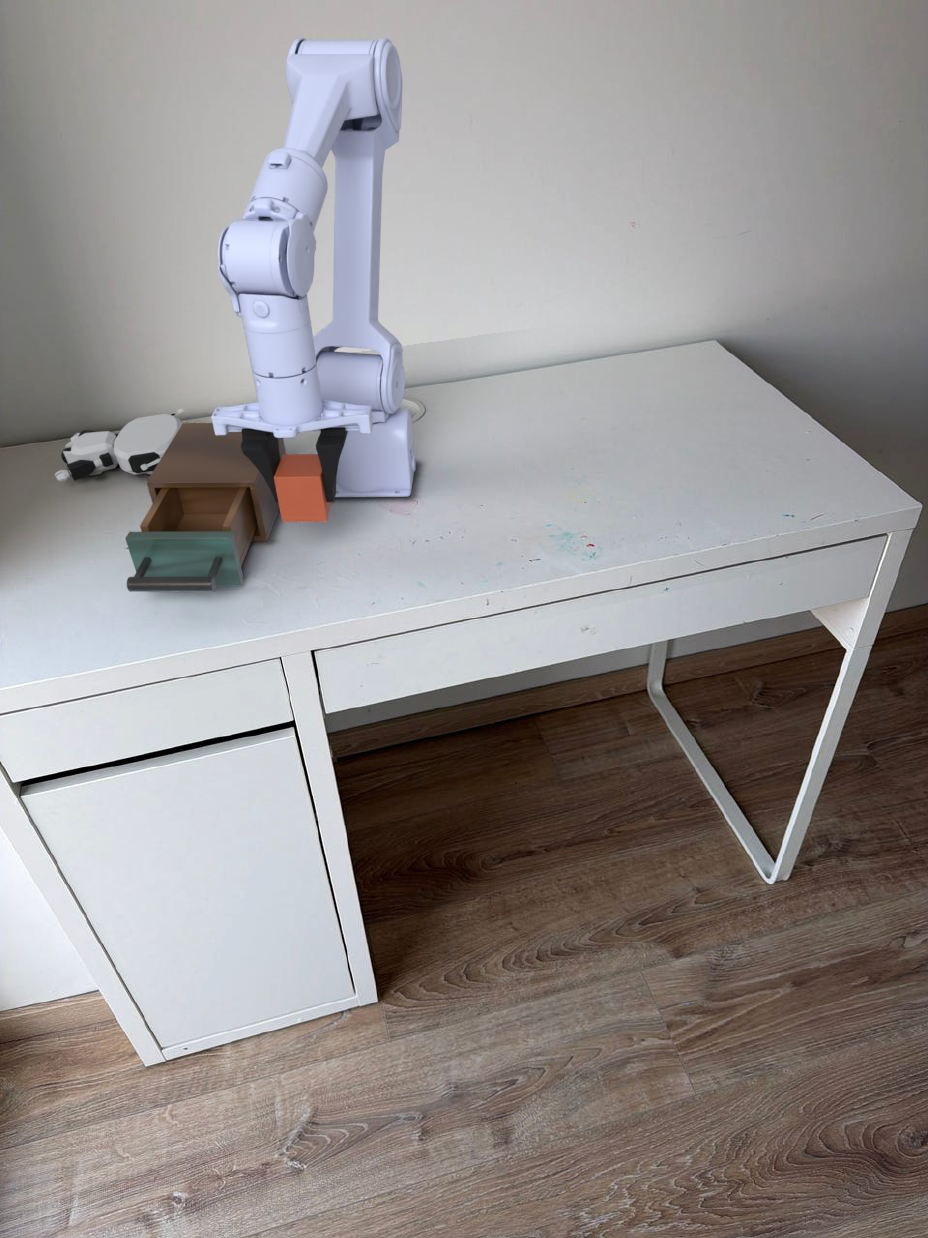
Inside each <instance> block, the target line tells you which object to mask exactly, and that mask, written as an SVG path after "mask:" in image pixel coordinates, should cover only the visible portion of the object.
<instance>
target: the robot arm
mask: <svg viewBox="0 0 928 1238" xmlns="http://www.w3.org/2000/svg"><path fill="white" fill-rule="evenodd" d="M400 60H401V59H400V56H399V53H398V49H397V47H396V46H395V45H394V44H393V42H392V40H391V39H390V38H388V37H381V38H379V39H306V38H304V37H298V38H295V39H294V40H293V41H292V43H291V46H290V48H289V49H288V52H287V56H286V61H285V75H286V85H287V90H288V93H289V97H290V100H291V104H292V105H291V106H292V107H291V110H290V114H289V118H288V121H287V127H286V131H285V135H284V137H283V138H284V139H283V141H282V142H283V143H282V146H281V148H276V149H274V150H272V151H270V152H269V153H268V154H267V155H266V156H265V157H264V159H263V161H262V164H261V166H260V169H259V172H258V175H257V177H256V180H255V183H254V185H253V188H252V190H251V192H250V196H249V197H248V201H247V204H246V207H245V209H244V211H243V214H242V217H241V219H235V220H234V221H232V222H231V223H230V225H228V226H226V227H224V229H223V230H221V233H220V236H219V239H218V245H217V259H218V261H217V262H218V265H217V271H218V276H219V279H220V282H221V283H222V286H223V288H224V289H225V290H226V292H227V293H228V295H229V297H230V301H231V304H232V310H233V312H234V313H235V315H236V316H237V317H239V318H241V321H242V327H243V331H244V336H245V342H246V348H247V353H248V359H249V363H250V368H251V373H252V379H253V384H254V389H255V395H256V400H257V402H256V401H255V402H250V403H245V404H238V405H230V406H216V407H215V408H214V411H213V413H212V414H211V416H210V418H211V423H213V427H214V432H215V435H227V433H228V432H242V443H241V445H240V446H241V449H242V452H243V454H244V455H245V456H246V457H247V458H248V459H249V460H250V461H251V462H252V463H253V464H254V465H255V466H256V468H257V469H258V470H259V472H260V473H261V475H262V476H263V478H264V479H265V481H266V483H267V484H268V486H269V488H270V490H271V492H272V494H273V497H274V499H275V502H276V503H279V502H278V497H277V491H276V486H275V481H274V476H275V473H276V470H277V468H278V465H279V463H280V452H279V443H278V438H283V439H292V438H295V437H297V436H298V434H299V433H307V432H320V433H319V435H318V437H317V440H316V443H315V451H316V454H318V457H319V460H320V464H321V469H322V473H323V481H324V491H325V496H326V501H327V502H332V503H334V502H335V498H408V497H410V496H411V494H412V488H413V482H414V481H413V480H414V475H415V472H416V466H417V463H416V456H415V449H414V435H413V422H412V421H413V420H412V413H411V410H410V409H405V408H400V407H401V406H402V403H403V399H404V396H405V389H406V388H405V385H406V376H405V375H406V373H405V367H404V362H403V360H404V357H403V347H402V344H401V342H400V341H399V339H398V338H397V337H396V336H395V335H394V334H393V333H391V331H389V330H388V329H387V328H386V327H385V326H384V325H382V324H381V322H380V321H379V298H380V297H379V296H380V265H381V235H382V234H381V233H382V232H381V231H382V201H383V200H382V199H383V197H382V196H383V173H384V172H383V171H384V164H385V154H386V150H388V149H390V148H391V147H393V146H394V145H396V144H397V143H399V141H400V130H401V128H402V111H403V73H402V66H401V61H400ZM330 152H331V153H332V154H333V156H334V210H333V211H334V212H333V213H334V218H333V273H332V275H333V276H332V278H333V279H332V281H333V283H332V320H330V322H329V323H328V324H327V325H325V326H324V327H323V328H321V330H319V331H318V332H317V333H316V334H313V328H312V320H311V313H310V306H309V299H308V293H309V291H310V290H311V287H312V285H313V283H314V277H315V255H316V250H317V239H316V237H315V234H314V233H315V230H316V227H317V224H318V221H319V218H320V214H321V212H322V210H323V205H324V203H325V200H326V196H327V194H328V189H329V185H328V178H327V175H326V173H325V171H324V169H323V167H324V165H325V162H326V161H327V159H328V156H329V155H330ZM341 348H351V349H365V350H366V349H369V350H373V351H376V352H377V353H378V354H377V353H364V352H363V353H361V352H347V351H345V352H344V351H336V350H338V349H341Z"/></svg>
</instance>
